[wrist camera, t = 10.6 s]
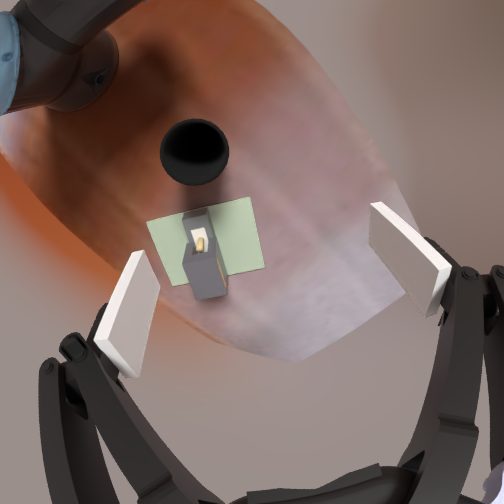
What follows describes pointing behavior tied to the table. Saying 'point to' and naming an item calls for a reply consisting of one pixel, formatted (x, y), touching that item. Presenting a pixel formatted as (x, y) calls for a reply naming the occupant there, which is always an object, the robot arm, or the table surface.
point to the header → (208, 226)
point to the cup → (194, 152)
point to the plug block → (205, 270)
